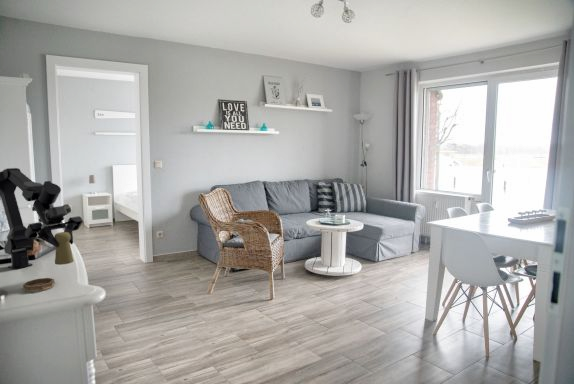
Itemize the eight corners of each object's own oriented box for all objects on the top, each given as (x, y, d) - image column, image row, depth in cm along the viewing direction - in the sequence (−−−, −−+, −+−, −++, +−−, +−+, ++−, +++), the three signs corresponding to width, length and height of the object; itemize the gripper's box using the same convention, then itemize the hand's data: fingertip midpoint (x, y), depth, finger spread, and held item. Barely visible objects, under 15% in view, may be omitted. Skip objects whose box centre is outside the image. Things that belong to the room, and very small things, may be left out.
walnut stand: (18, 289, 138) (18, 284, 138) (44, 282, 145) (44, 276, 145) (33, 293, 134) (33, 288, 133) (59, 285, 141) (59, 280, 141)
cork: (65, 265, 144) (63, 234, 143) (50, 264, 145) (48, 234, 144) (77, 260, 150) (75, 231, 148) (63, 259, 151) (61, 230, 150)
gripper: (26, 201, 139) (45, 236, 134) (78, 195, 155) (97, 226, 150) (16, 221, 144) (35, 256, 139) (68, 213, 160) (86, 244, 155)
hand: (65, 244), depth 146 cm, fingers closed on cork, 5 cm apart
